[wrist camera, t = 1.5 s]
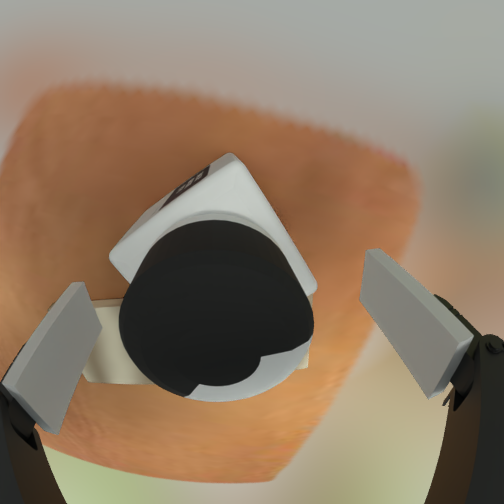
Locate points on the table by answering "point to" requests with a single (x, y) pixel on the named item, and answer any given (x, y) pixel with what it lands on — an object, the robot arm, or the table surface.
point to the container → (214, 289)
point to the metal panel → (121, 350)
